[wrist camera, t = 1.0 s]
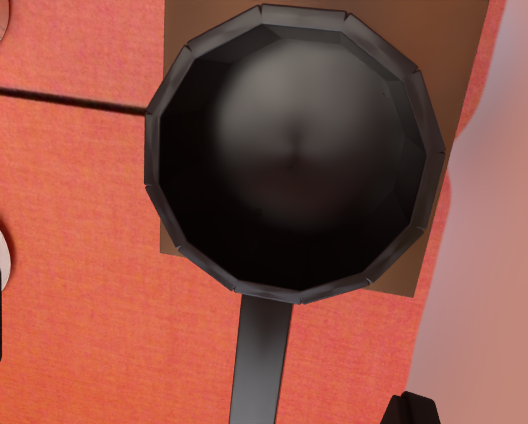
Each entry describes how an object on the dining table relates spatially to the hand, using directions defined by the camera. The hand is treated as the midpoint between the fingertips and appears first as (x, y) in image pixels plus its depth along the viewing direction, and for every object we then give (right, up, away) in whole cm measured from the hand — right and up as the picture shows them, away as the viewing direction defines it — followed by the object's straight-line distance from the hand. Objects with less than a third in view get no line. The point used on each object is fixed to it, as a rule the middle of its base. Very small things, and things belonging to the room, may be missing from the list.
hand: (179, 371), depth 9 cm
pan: (+3, +2, +11) cm, 11 cm away
